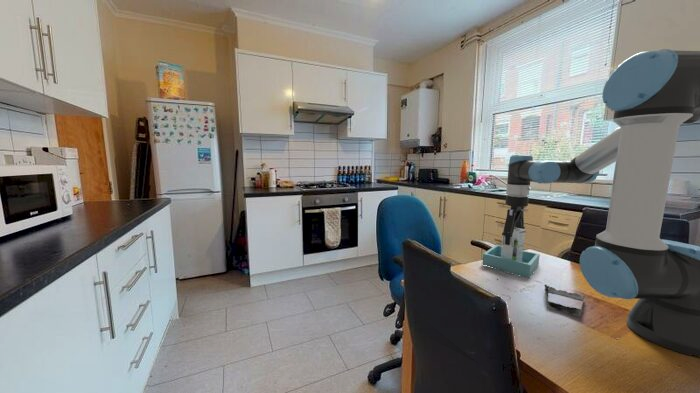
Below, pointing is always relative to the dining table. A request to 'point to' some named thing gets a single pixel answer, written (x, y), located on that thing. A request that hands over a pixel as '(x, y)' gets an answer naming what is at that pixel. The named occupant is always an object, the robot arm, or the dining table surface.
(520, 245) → the syrup box
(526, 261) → the box
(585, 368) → the dining table surface
